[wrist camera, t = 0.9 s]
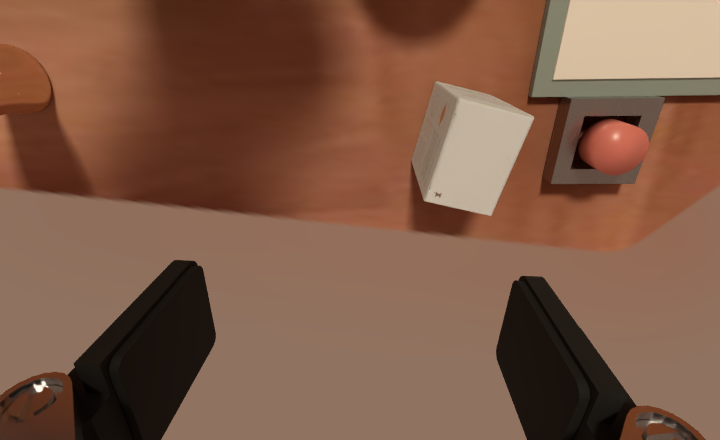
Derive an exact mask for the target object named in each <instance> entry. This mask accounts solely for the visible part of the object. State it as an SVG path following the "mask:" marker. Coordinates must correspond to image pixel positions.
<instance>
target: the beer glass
mask: <svg viewBox="0 0 720 440" xmlns="http://www.w3.org/2000/svg"><path fill="white" fill-rule="evenodd" d="M51 95H52V90H51V84H50V81H49V78H48V76H47V74H46V72H45V71H44V69H43V68H42V66H41V65H40V64H39V63H38V62H37V60H36V59H34V58H33V57H32V56H31V55H30V54H28V53H27V52H25V51H24V50H22V49H20V48H18V47H15V46H12V45H8V44H0V116H1V115H5V114H18V113H35V112H39V111H41V110H43V109H44V108H45V107H47V105H48V104H49V102H50V100H51Z"/></svg>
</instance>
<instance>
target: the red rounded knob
mask: <svg viewBox="0 0 720 440" xmlns="http://www.w3.org/2000/svg"><path fill="white" fill-rule="evenodd" d="M648 148H649V139H648V136H647V134H646V133H645V131H644V130H642V129H641V128H639V127H636V126H633V125H631V124H628V123H625V122H622V121H619V120H617V119H604V120H600V121H598V122H596V123H594V124H593V125H591V126H590V127H589V128H588V129H587V130H586V131H585V132H584V133H583V135H582V136H581V138H580V141H579V144H578V153H579V156H580V157H581V159H582V160H583V161H584V162H586V163H587V164H589V165H590V166H592V167H594V168H595V169H597V170H599V171H600V172H602V173H604V174H606V175H613V176H614V175H621V174H624V173H627V172H629V171H631V170H632V169H634V168H635V167H636V166H638V165H639V164H640V163H641V161H642V160H643V159H644V157H645V156H646V154H647V151H648Z"/></svg>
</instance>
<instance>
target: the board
mask: <svg viewBox="0 0 720 440" xmlns="http://www.w3.org/2000/svg"><path fill="white" fill-rule="evenodd" d="M675 95H720V0H546V5H545V11H544V16H543V21H542V26H541V32H540V37H539V42H538V47H537V52H536V58H535V63H534V68H533V73H532V79H531V84H530V89H529V94H528V96H530V97H587V96H675Z"/></svg>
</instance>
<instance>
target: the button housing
mask: <svg viewBox="0 0 720 440" xmlns="http://www.w3.org/2000/svg"><path fill="white" fill-rule="evenodd" d="M664 101H665V98H664V97H659V96H587V97H561V98H560V102H559V107H558V111H557V115H556V120H555V124H554V128H553V133H552V137H551V141H550V146H549V150H548V154H547V158H546V163H545V167H544V171H543V176H542V177H543V178H544V179H545V180H547V181H548V182H549V183H550V184H635V181H636V178H637V176H638V173H639V170H640V167H641V164H642V162H643V160H642V161H641V163H640V164H639V165H638V166H636V167H635V168H634V169H632V170H631V171H629V172H627V173H624V174H621V175H614V176H613V175H606V174H604V173H602V172H600V171H599V170H597V169H595V168H594V167H592V166H590V165H589V164H587V163H572V161H573V157H574V154H575V150H576V146H577V142H578V139H579V135H580V131H581V127H582V124H583V120H584V116H626V118H625V121H624V122H625V123H628V124H631V125H633V126H636V127H639V128H641V129H642V130H644V131H645V133H646V134H647V136H648V139H649V142H650V140H651V137H652V134H653V131H654V128H655V126H656V123H657V120H658V117H659V115H660V112H661V109H662V106H663V103H664Z"/></svg>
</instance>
